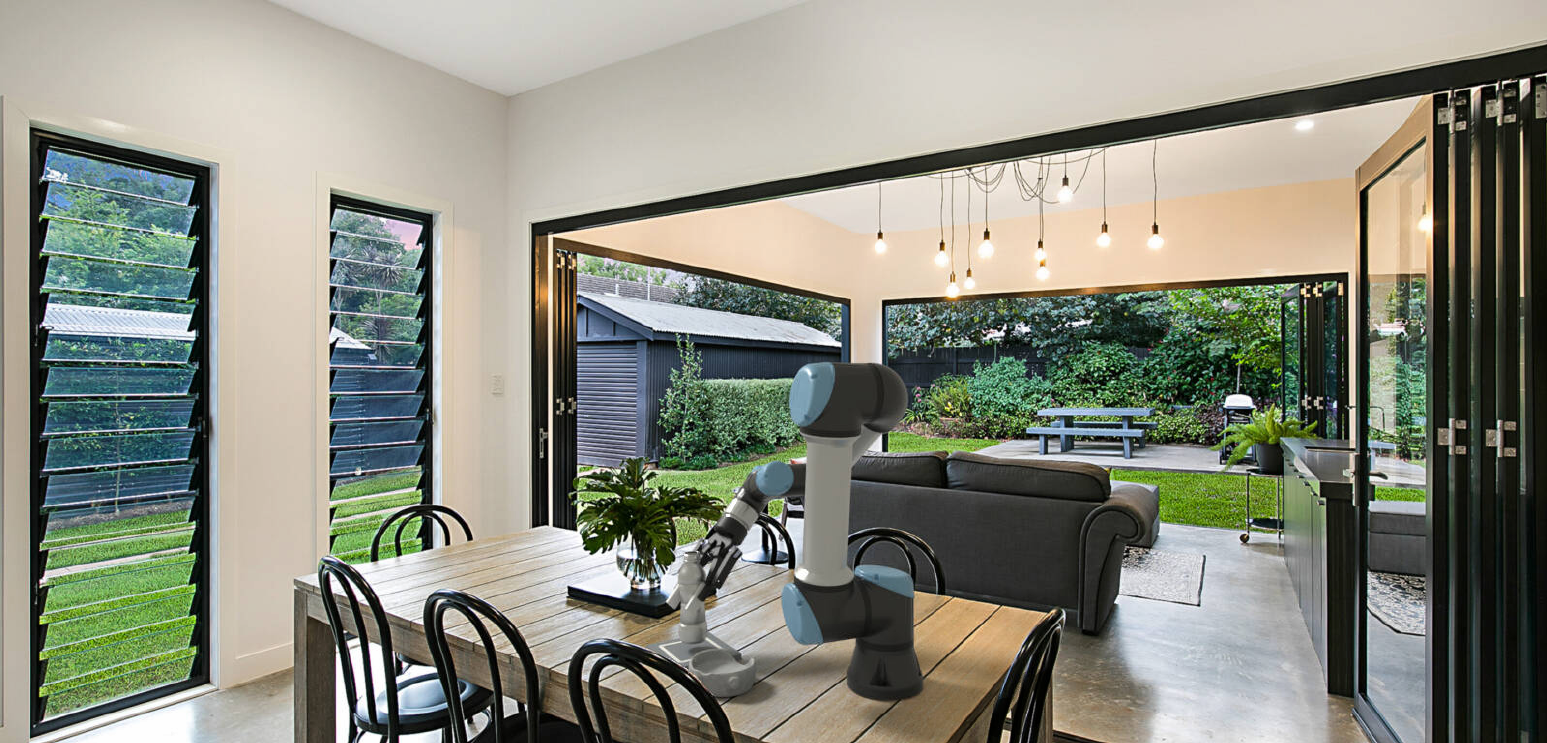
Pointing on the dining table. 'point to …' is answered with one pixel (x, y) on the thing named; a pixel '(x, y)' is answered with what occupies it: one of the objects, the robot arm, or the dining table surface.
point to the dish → (722, 672)
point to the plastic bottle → (689, 581)
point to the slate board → (690, 649)
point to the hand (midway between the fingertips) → (679, 608)
